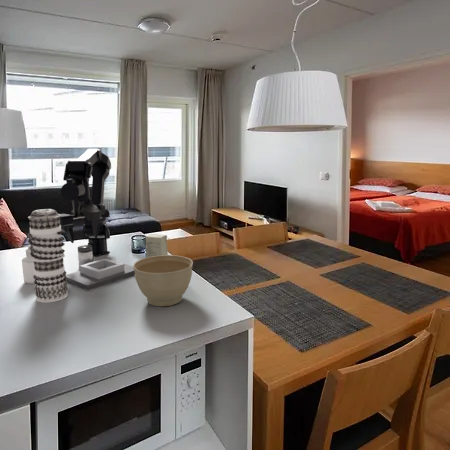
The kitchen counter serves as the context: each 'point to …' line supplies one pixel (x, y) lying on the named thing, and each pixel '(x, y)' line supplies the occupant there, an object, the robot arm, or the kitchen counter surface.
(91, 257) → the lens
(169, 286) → the planter bowl
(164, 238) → the skincare box
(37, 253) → the white patterned cylinder
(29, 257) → the eye dropper bottle
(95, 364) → the kitchen counter surface
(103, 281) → the white tray on slab
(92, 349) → the kitchen counter surface
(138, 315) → the kitchen counter surface
